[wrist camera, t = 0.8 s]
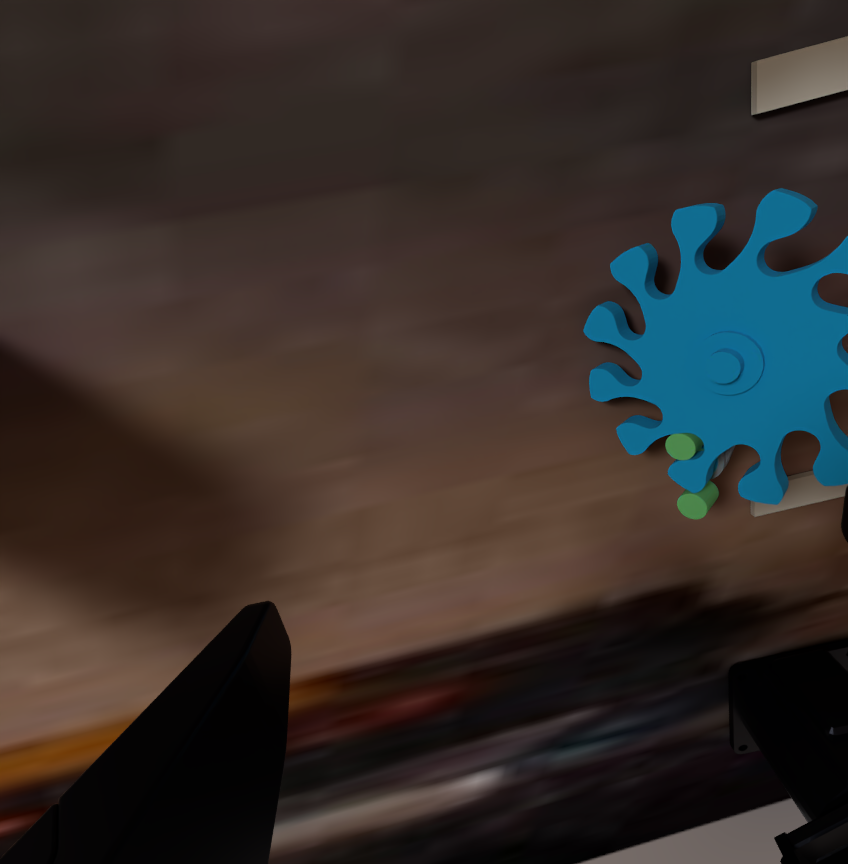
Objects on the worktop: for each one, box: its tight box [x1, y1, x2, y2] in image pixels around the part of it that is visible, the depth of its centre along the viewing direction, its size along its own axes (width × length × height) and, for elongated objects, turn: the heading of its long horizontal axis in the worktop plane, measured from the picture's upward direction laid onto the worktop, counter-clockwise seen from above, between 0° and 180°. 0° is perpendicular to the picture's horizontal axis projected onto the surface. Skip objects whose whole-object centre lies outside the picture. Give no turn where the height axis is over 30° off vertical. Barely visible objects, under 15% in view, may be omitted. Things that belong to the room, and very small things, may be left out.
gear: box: [583, 188, 848, 519], centre depth 19 cm, size 11×6×10 cm
